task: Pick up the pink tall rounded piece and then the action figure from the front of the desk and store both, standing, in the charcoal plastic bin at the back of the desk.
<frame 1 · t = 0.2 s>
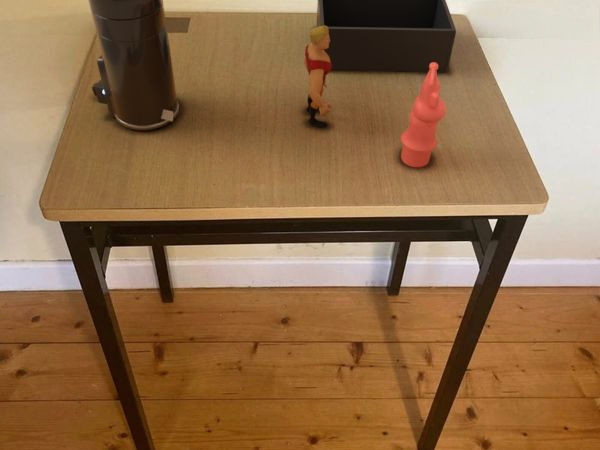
action figure: (316, 118, 93), on the table
pink tall rounded piece: (415, 159, 87), on the table
bin: (379, 49, 106), on the table
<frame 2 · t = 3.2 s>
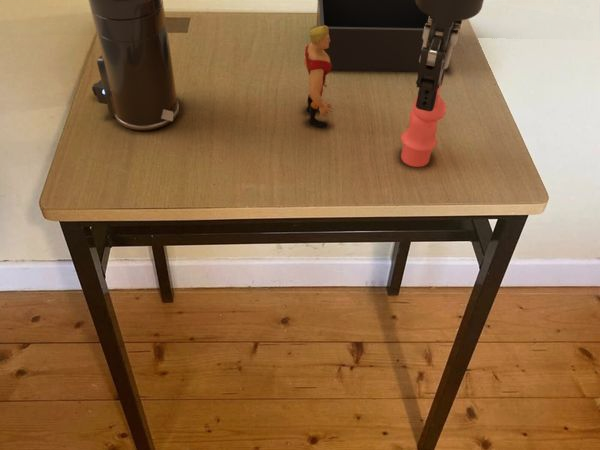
hand: (428, 96, 79), 10 cm above the table, tool pointing down, fingers closed on pink tall rounded piece, 4 cm apart
pink tall rounded piece: (415, 159, 87), on the table, touching gripper
everything else where it was.
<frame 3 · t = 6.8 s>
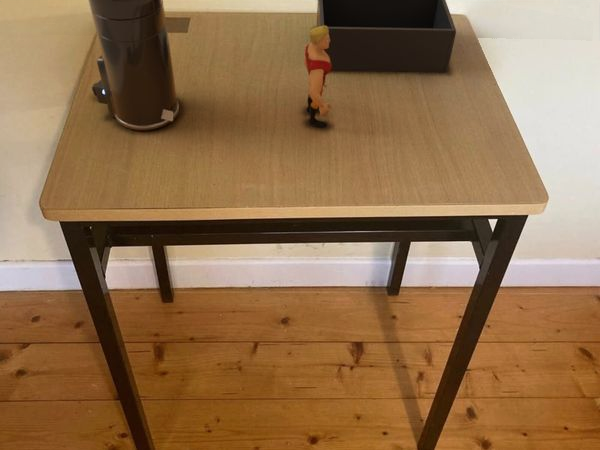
when the fingers open (11 cm above the table, at t = 10.7 s): pink tall rounded piece stays where it is, resting on bin.
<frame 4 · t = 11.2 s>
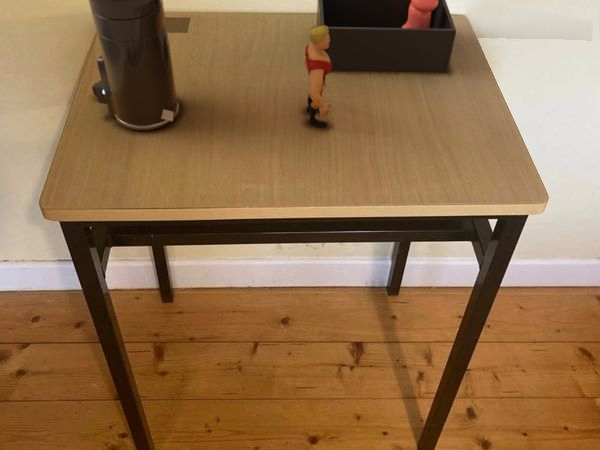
pink tall rounded piece: (413, 49, 106), resting on bin
everything else where it was.
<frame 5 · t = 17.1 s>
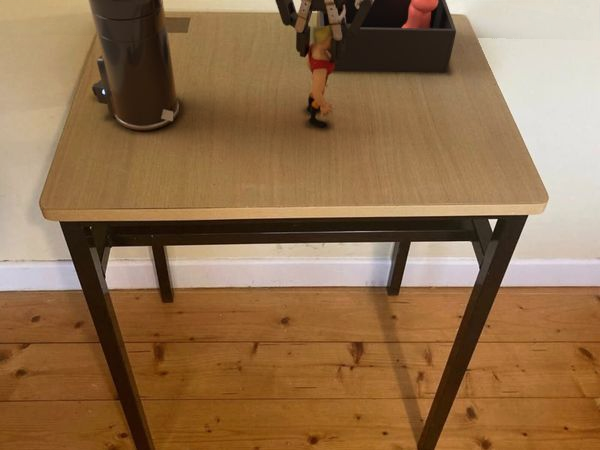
hand: (319, 56, 86), 10 cm above the table, tool pointing down, fingers closed on action figure, 3 cm apart
action figure: (316, 118, 93), on the table, touching gripper
everything else where it was.
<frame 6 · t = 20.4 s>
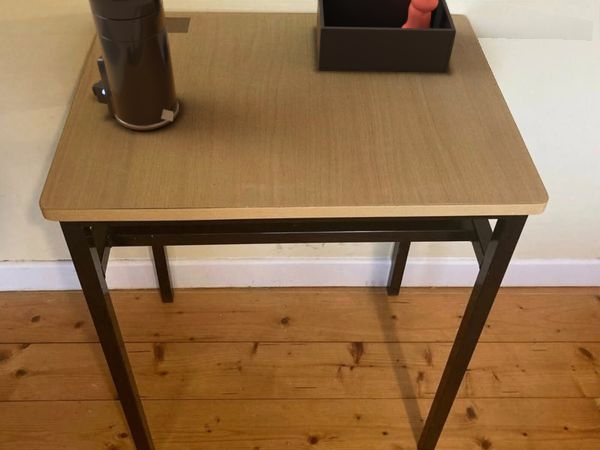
when the fingers open (11 cm above the table, at t = 23.8 s): action figure stays where it is, resting on bin.
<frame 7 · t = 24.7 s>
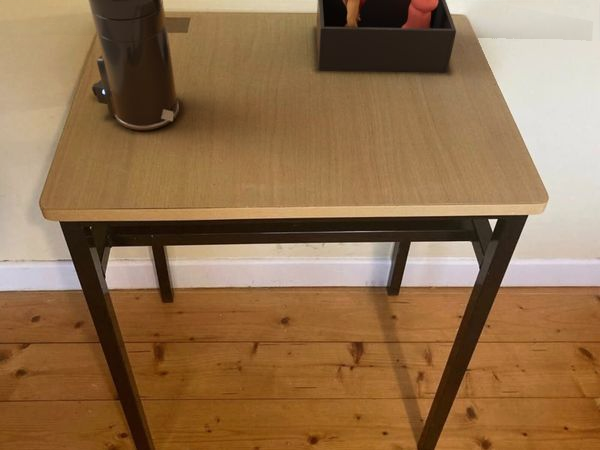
action figure: (350, 47, 106), resting on bin
everything else where it was.
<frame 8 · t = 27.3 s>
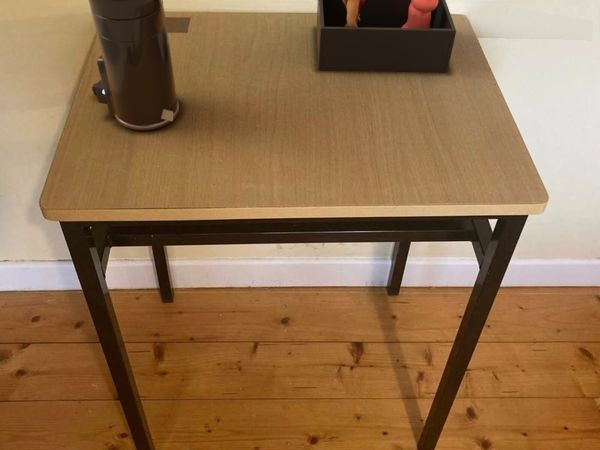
nothing on the table moved.
at the end: pink tall rounded piece 5.9 cm from the bin (horizontally); action figure 4.9 cm from the bin (horizontally); action figure inside the target area in the bin (4.9 cm from its centre), point 0.3 cm above the bin's base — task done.
